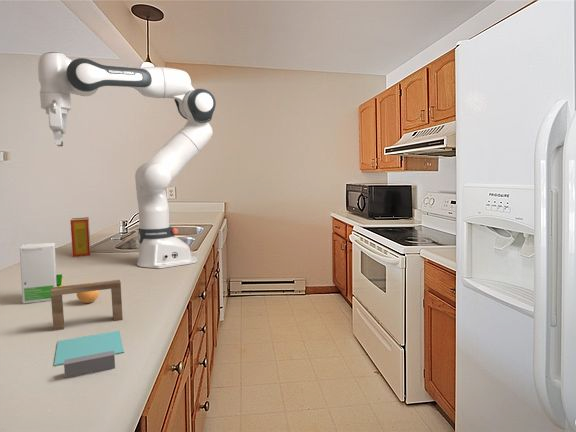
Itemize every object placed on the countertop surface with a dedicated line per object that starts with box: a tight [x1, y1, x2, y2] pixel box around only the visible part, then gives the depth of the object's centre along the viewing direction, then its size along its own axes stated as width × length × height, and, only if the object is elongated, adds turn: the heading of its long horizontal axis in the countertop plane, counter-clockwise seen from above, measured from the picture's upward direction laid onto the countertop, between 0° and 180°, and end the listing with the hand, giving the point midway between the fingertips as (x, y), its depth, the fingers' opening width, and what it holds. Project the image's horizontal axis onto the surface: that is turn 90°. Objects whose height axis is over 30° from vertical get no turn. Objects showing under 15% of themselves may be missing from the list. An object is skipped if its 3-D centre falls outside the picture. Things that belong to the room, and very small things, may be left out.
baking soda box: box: [70, 216, 92, 258], centre depth 176 cm, size 10×6×16 cm
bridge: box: [50, 279, 124, 331], centre depth 95 cm, size 3×14×9 cm, turn 117°
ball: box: [76, 281, 100, 304], centre depth 111 cm, size 6×6×6 cm
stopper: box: [63, 351, 116, 379], centre depth 73 cm, size 8×2×2 cm, turn 117°
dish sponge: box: [56, 274, 63, 287], centre depth 127 cm, size 7×14×2 cm, turn 28°
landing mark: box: [53, 330, 125, 367], centre depth 83 cm, size 12×12×1 cm
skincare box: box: [19, 242, 57, 305], centre depth 114 cm, size 8×7×16 cm
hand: (59, 145), depth 136 cm, fingers open, 8 cm apart
